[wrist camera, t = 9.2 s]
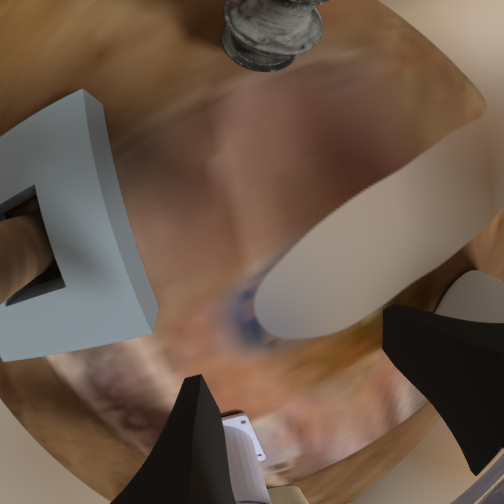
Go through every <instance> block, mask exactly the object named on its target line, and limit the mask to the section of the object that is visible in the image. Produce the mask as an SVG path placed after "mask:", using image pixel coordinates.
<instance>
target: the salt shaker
mask: <svg viewBox="0 0 504 504" xmlns="http://www.w3.org/2000/svg"><path fill="white" fill-rule="evenodd" d="M327 1H329V0H227V1H226V3H225V5H224V13H223V16H224V20H225V23H226V25H227V26H226V28H225V30H224V32H223V39H222V42H223V46H224V49H225V51H226V52H227V54H228V55H229V57H230V58H232V59H233V60H234V61H235V62H236V63H237V64H239V65H241V66H243V67H245V68H247V69H251V70H254V71H260V72H273V71H278V70H281V69H284V68H286V67H287V66H288V65H290V64H291V63H292V62H293V61H294V60H295V58H296V57H297V55H298V54H299V53H303V52H306V51H308V50H309V49H311V48H313V47H314V46H315V45H316V44H317V43H318V42H319V40H320V39H321V37H322V33H323V21H322V18H321V16H320V14H319V12H318V10H317V9H316V8H315V6H316V5H318V4H323V3H325V2H327Z"/></svg>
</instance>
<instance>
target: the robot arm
mask: <svg viewBox="0 0 504 504" xmlns="http://www.w3.org/2000/svg"><path fill="white" fill-rule="evenodd" d="M382 349H383V351H384V352H385V353H386V355H387V356H388V358H389V359H390V360H391V362H392V363H393V364H394V366H395V367H396V368H397V369H398V370H399V371H400V372H401V373H402V374H403V375H404V376H405V377H406V378H407V379H408V380H409V381H410V382H411V383H412V384H413V385H414V386H415V387H416V388H417V389H418V390H419V391H420V392H421V393H422V394H423V395H424V396H425V397H426V398H427V399H428V400H429V401H430V402H431V404H432V405H433V406H434V407H435V409H436V410H437V412H438V413H439V414H440V416H441V417H442V418H443V420H444V421H445V423H446V424H447V426H448V427H449V429H450V430H451V432H452V434H453V435H454V437H455V439H456V440H457V442H458V444H459V446H460V448H461V450H462V452H463V454H464V456H465V458H466V460H467V463H468V465H469V468H470V470H471V471H472V473H473V474H474V475H475V476H477V475H478V474H479V473H480V472H481V471H482V470H483V469H484V468H485V467H486V466H487V465H488V464H489V463H490V462H491V461H492V460H493V459H494V458H495V457H496V456H497V455H498V454H499V453H500V452H501V451H502V449H503V448H504V323H487V322H476V321H468V320H463V319H457V318H452V317H447V316H443V315H439V314H435V313H431V312H427V311H423V310H419V309H415V308H411V307H407V306H402V305H397V304H394V305H392V306H390V307H388V308H386V309H383V344H382ZM243 420H244V421H243ZM265 459H266V457H265V454H264V452H263V450H262V448H261V446H260V444H259V441H258V439H257V437H256V435H255V433H254V430H253V428H252V426H251V424H250V422H249V419H248V417H247V415H246V414H245V413H239V414H235V415H231V416H227V417H223V418H221V414H220V410H219V408H218V406H217V404H216V402H215V400H214V398H213V396H212V394H211V392H210V390H209V388H208V386H207V384H206V382H205V380H204V378H203V376H202V374H200V375H196V376H192V377H187V378H185V379H184V381H183V384H182V386H181V389H180V392H179V394H178V397H177V399H176V402H175V404H174V407H173V409H172V411H171V414H170V416H169V418H168V420H167V423H166V425H165V427H164V429H163V431H162V433H161V435H160V437H159V438H158V440H157V442H156V444H155V446H154V448H153V449H152V451H151V453H150V454H149V456H148V458H147V459H146V461H145V462H144V464H143V465H142V467H141V468H140V469H139V471H138V472H137V473H136V475H135V476H134V477H133V479H132V480H131V481H130V483H129V484H128V485H127V486H126V487H125V489H124V490H123V491H122V492H121V493H120V494H119V495H118V496H117V497H116V498H115V499H114V500H113V501H112V502H111V503H110V504H272V503H271V500H270V497H269V494H268V491H267V488H266V484H265V481H264V478H263V474H262V471H261V468H260V464H259V461H262V460H265ZM503 473H504V454H503V455H502V456H501V457H500V458H499V459H498V460H497V462H496V463H495V464H494V465H493V466H492V467H491V468H490V469H489V470H488V471H487V472H486V473H485V474H484V475H483V476H482V477H481V478H480V479H479V480H478V481H477V482H475V483H474V484H473V485H472V486H471V487H470V488H469V489H468V490H466V491H465V492H464V493H463V494H462V495H461V496H459V497H458V498H457V499H456V500H455V501H454V502H452V503H451V504H473V503H475V502H476V501H477V500H478V499H479V498H480V497H481V496H482V495H483V494H484V493H485V492H486V491H487V490H488V489H489V488H490V487H491V486H492V485H493V484H494V483H495V482H496V481H497V480H498V479H499V478H500V477H501V476H502V475H503ZM478 504H504V479H503V480H502V481H501V482H499V483H498V484H497V485H496V486H495V487H494V488H493V489H492V490H491V491H490V492H489V493H488V494H487V495H485V497H484V498H483V499H482V500H481V501H480V502H479V503H478Z"/></svg>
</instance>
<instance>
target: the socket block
mask: <svg viewBox="0 0 504 504" xmlns="http://www.w3.org/2000/svg"><path fill="white" fill-rule="evenodd" d="M35 195H37V197H38V201H39V205H40V209H41V213H42V217H43V221H44V224H45V228H46V231H47V234H48V238H49V241H50V244H51V247H52V250H53V253H54V256H55V259H56V261H57V264H58V267H59V270H60V272H61V275H62V277H59V278H56V279H53V280H50V281H47V282H45V283H42V284H39V285H36V286H33V287H30V288H29V286H28V284H26V285H25V286H24V287H22V288H21V289H20V290H19V291H17V292H16V293H15V294H13V295H12V296H11V297H10V298H8V299H7V300H6V301H5V302H3V303H2V304H1V305H0V357H1V358H2V360H3V362H7V361H15V360H22V359H29V358H35V357H41V356H48V355H53V354H59V353H65V352H70V351H76V350H81V349H86V348H91V347H96V346H101V345H106V344H110V343H115V342H120V341H124V340H129V339H133V338H137V337H142V336H146V335H150V334H153V330H154V326H155V322H156V318H157V314H158V310H159V305H158V303H157V300H156V298H155V295H154V293H153V290H152V287H151V285H150V282H149V279H148V277H147V274H146V271H145V268H144V265H143V263H142V260H141V257H140V254H139V251H138V248H137V245H136V242H135V239H134V235H133V232H132V229H131V226H130V222H129V219H128V216H127V212H126V209H125V205H124V202H123V198H122V194H121V190H120V186H119V183H118V178H117V174H116V170H115V166H114V161H113V157H112V152H111V148H110V143H109V138H108V132H107V127H106V121H105V115H104V109H103V104H102V103H101V102H99V101H98V100H97V99H96V98H94V97H93V96H92V95H91V94H89V93H88V92H87V91H85V90H84V89H81V90H79V91H76V92H74V93H72V94H70V95H68V96H66V97H64V98H62V99H60V100H58V101H57V102H55V103H53V104H51V105H49V106H47V107H46V108H44V109H42V110H41V111H39V112H37V113H35V114H34V115H32V116H31V117H29V118H27V119H26V120H24V121H23V122H21V123H20V124H18V125H17V126H15V127H14V128H12V129H11V130H9V131H8V132H6V133H5V134H4V135H2V136H1V137H0V221H4V220H7V219H6V215H5V212H7V211H8V210H10V209H12V208H14V207H15V206H17V205H19V204H21V203H22V202H24V201H26V200H28V199H30V198H31V197H33V196H35Z"/></svg>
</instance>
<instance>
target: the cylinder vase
mask: <svg viewBox="0 0 504 504" xmlns="http://www.w3.org/2000/svg"><path fill="white" fill-rule="evenodd" d="M435 314H439V315H443V316H447V317H452V318H457V319H463V320H468V321H476V322H487V323H504V281H501V280H499V279H497V278H495V277H493V276H490V275H488V274H486V273H483V272H481V271H478V270H472V271H469V272H467V273H465V274H463V275H462V276H460V277H459V278H458V279H457V280H456V281H455V282H454V283H453V284H452V286H451V287H450V288H449V289H448V291H447V292H446V294H445V295H444V297H443V298H442V300H441V302H440V303H439V305H438V307H437V309H436V311H435Z"/></svg>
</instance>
